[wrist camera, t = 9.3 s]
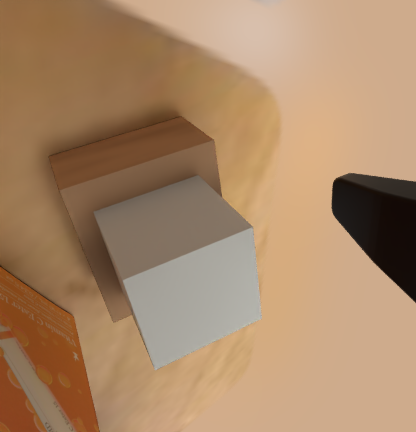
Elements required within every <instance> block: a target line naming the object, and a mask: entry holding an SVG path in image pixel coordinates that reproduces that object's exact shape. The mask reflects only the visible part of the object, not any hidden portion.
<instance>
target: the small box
mask: <svg viewBox="0 0 416 432" xmlns="http://www.w3.org/2000/svg"><path fill="white" fill-rule="evenodd" d="M0 432H100V431H99V427H98V422H97V417H96V413H95V409H94V404H93V400H92V396H91V391H90V387H89V382H88V378H87V373H86V369H85V365H84V360H83V356H82V351H81V346H80V342H79V337H78V333H77V329H76V324H75V320H74V317H73V316H72V315H70V314H69V313H67V312H65V311H64V310H62V309H60V308H59V307H57V306H56V305H54V304H53V303H51V302H50V301H48V300H47V299H45V298H44V297H42V296H41V295H40V294H38V293H37V292H35V291H34V290H32V289H31V288H29V287H28V286H27V285H25V284H24V283H22V282H21V281H19V280H18V279H16V278H15V277H14V276H12V275H11V274H10V273H8V272H7V271H5V270H4V269H3V268H1V267H0Z"/></svg>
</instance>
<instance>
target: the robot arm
mask: <svg viewBox="0 0 416 432" xmlns="http://www.w3.org/2000/svg"><path fill="white" fill-rule="evenodd" d="M332 212H333V215H334V216H335V218H336V219H337V220H338V221H339V223H340V224H341V225H342V226H343V227H344V228H345V230H346V231H347V232H348V233H349V234H350V236H351V237H352V238H353V239H354V240H355V241H356V243H357V244H358V245H359V246H360V247H361V248H362V250H363V251H364V252H365V253H366V254H367V255H368V256H369V258H370V259H371V260H372V261H373V262H374V263H375V264H376V265H377V266H378V267H379V268H380V269H381V270H382V271H383V272H384V273H385V274H386V275H387V276H388V277H389V278H390V279H391V280H393V282H395V283H396V284H397V285H398V286H399V287H400V288H401V289H402V290H403V291H404V292H405V293H406V294H407V295H408V296H409V297H410V298H411V299H412V300H413V301H414V302H415V303H416V182H413V181H407V180H399V179H392V178H384V177H377V176H369V175H362V174H355V173H349V174H346V175H343V176H340V177H338V178H336V179H335V180H334V182H333V188H332Z"/></svg>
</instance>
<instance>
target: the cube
mask: <svg viewBox="0 0 416 432" xmlns="http://www.w3.org/2000/svg"><path fill="white" fill-rule="evenodd" d="M94 215H95V218H96V220H97V223H98V226H99V229H100V231H101V234H102V237H103V239H104V242H105V245H106V247H107V250H108V253H109V256H110V258H111V261H112V264H113V266H114V269H115V272H116V275H117V277H118V280H119V283H120V285H121V288H122V291H123V293H124V296H125V298H126V301H127V303H128V306H129V308H130V310H131V313H132V315H133V318H134V320H135V323H136V325H137V327H138V330H139V332H140V335H141V337H142V340H143V342H144V344H145V347H146V349H147V352H148V354H149V357H150V359H151V361H152V364H153V366H154V369H155V370H157V369H159V368H161V367H163V366H165V365H167V364H169V363H172V362H174V361H176V360H178V359H180V358H182V357H184V356H186V355H188V354H190V353H192V352H194V351H196V350H198V349H200V348H202V347H204V346H206V345H209V344H211V343H213V342H215V341H217V340H219V339H221V338H223V337H225V336H227V335H229V334H231V333H233V332H235V331H237V330H239V329H241V328H243V327H245V326H248V325H250V324H252V323H254V322H256V321H258V320H260V319H262V315H261V305H260V294H259V284H258V274H257V264H256V253H255V243H254V233H253V227H252V226H251V225H250V224H249V223H248V222H247V221H246V220H245V219H244V218H243V217H242V216H241V215H240V214H239V213H238V212H237V211H236V210H235V209H233V208H232V207H231V206H230V205H229V204H228V203H227V202H226V201H225V200H224V199H223V198H222V197H221V196H220V195H219V194H218V193H217V192H216V191H215V190H214V189H212V188H211V187H210V186H209V185H208V184H207V183H206V182H205V181H204V180H203V179H202V178H201V177H200V176H199V175H197V176H194V177H191V178H188V179H185V180H183V181H180V182H177V183H174V184H171V185H168V186H165V187H163V188H160V189H157V190H154V191H151V192H148V193H146V194H143V195H140V196H137V197H134V198H131V199H128V200H126V201H123V202H120V203H117V204H114V205H111V206H109V207H106V208H103V209H100V210H97V211H94Z"/></svg>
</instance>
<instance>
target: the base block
mask: <svg viewBox="0 0 416 432" xmlns="http://www.w3.org/2000/svg"><path fill="white" fill-rule="evenodd" d="M49 159H50V163H51V166H52V169H53V172H54V176H55V179H56V182H57V186H58V189H59V192H60V194H61V197H62V199H63V201H64V204H65V206H66V209H67V211H68V214H69V216H70V218H71V221H72V223H73V226H74V228H75V231H76V233H77V235H78V238H79V240H80V243H81V245H82V248H83V250H84V252H85V255H86V257H87V260H88V262H89V265H90V267H91V269H92V272H93V274H94V277H95V279H96V282H97V284H98V287H99V289H100V291H101V294H102V296H103V299H104V301H105V304H106V306H107V308H108V311H109V313H110V316H111V318H112V321H113V323H114V322H116V321H118V320H121V319H123V318H125V317H128V316H130V315H132V313H131V310H130V308H129V306H128V303H127V301H126V298H125V296H124V293H123V291H122V288H121V285H120V283H119V280H118V277H117V275H116V272H115V269H114V266H113V264H112V261H111V258H110V256H109V253H108V250H107V247H106V245H105V242H104V239H103V237H102V234H101V231H100V229H99V226H98V223H97V220H96V218H95V215H94V211H97V210H100V209H103V208H106V207H109V206H111V205H114V204H117V203H120V202H123V201H126V200H128V199H131V198H134V197H137V196H140V195H143V194H146V193H148V192H151V191H154V190H157V189H160V188H163V187H165V186H168V185H171V184H174V183H177V182H180V181H183V180H185V179H188V178H191V177H194V176H197V175H199V176H200V177H201V178H202V179H203V180H204V181H205V182H206V183H207V184H208V185H209V186H210V187H211V188H212V189H214V190H215V191H216V192H217V193H218V194H219V195H220V196H221V197H222V193H221V186H220V179H219V172H218V165H217V158H216V151H215V144H214V140H213V139H212V138H211V137H209V136H208V135H206V134H205V133H204V132H202V131H201V130H199V129H198V128H197V127H195V126H194V125H193V124H191V123H190V122H188V121H187V120H186V119H184V118H183V117H178V118H175V119H171V120H168V121H165V122H161V123H158V124H155V125H151V126H148V127H145V128H141V129H138V130H135V131H131V132H128V133H125V134H121V135H118V136H115V137H111V138H108V139H105V140H101V141H98V142H95V143H91V144H88V145H85V146H81V147H78V148H75V149H71V150H68V151H65V152H61V153H58V154H55V155H51V156H49Z"/></svg>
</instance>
